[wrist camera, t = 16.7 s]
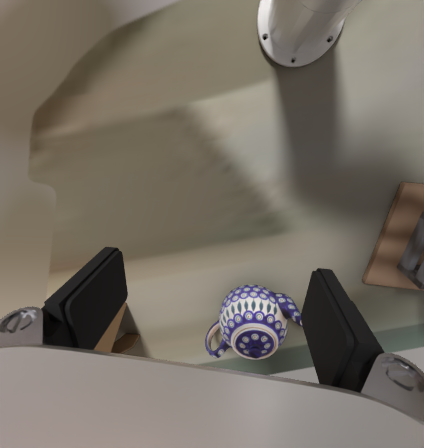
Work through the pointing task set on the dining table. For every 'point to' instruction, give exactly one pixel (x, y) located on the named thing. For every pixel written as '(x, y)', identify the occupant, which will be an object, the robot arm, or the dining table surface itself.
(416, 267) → the collar stand
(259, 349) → the teapot
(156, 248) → the dining table surface
